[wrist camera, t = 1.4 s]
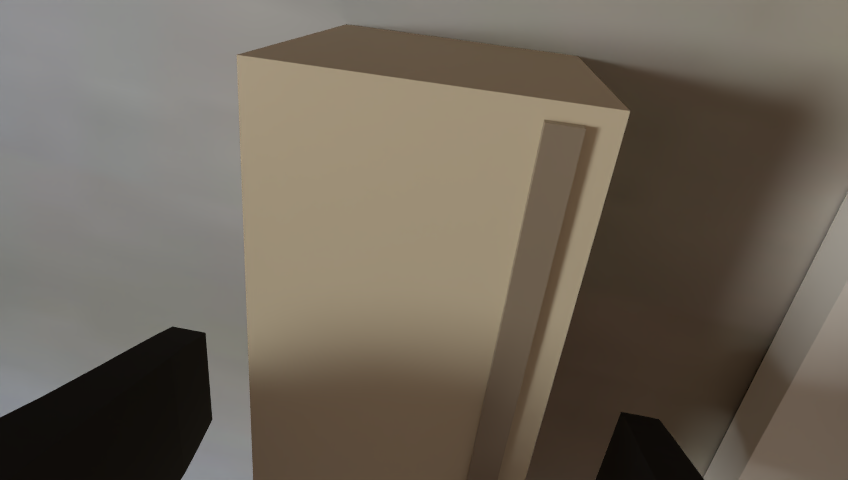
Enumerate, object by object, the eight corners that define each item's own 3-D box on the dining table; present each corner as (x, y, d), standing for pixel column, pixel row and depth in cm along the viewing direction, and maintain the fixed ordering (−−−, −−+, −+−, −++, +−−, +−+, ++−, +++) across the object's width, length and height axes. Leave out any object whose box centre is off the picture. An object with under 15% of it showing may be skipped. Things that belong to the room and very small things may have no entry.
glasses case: (470, 515, 15) (456, 728, 10) (326, 487, 15) (257, 683, 11) (576, 54, 9) (633, 113, 5) (349, 23, 10) (230, 57, 5)
